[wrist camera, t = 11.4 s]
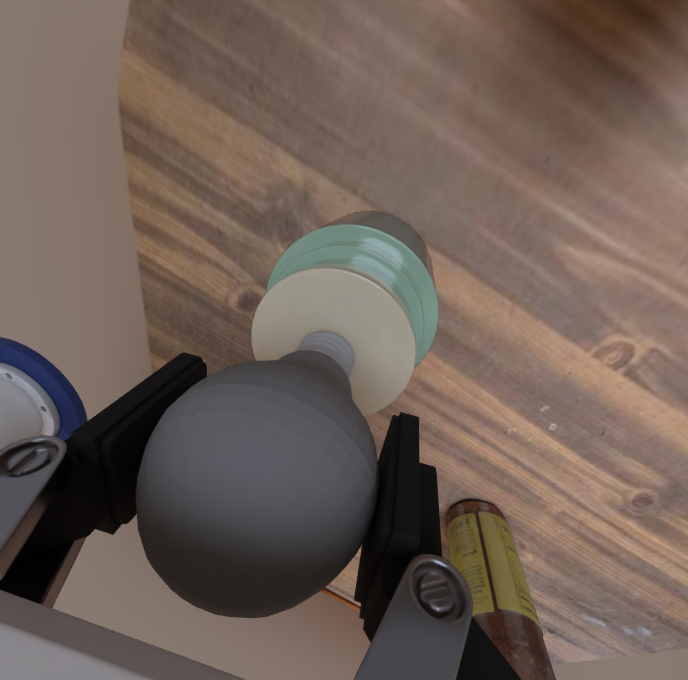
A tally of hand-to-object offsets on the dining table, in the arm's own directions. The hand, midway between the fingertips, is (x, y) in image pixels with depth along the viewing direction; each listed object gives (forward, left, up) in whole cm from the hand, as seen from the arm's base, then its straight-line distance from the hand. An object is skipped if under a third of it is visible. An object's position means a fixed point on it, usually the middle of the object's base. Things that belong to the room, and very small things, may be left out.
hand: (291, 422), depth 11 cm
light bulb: (0, 0, -5) cm, 5 cm away
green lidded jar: (0, 0, -18) cm, 18 cm away
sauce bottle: (+28, -4, -19) cm, 34 cm away
